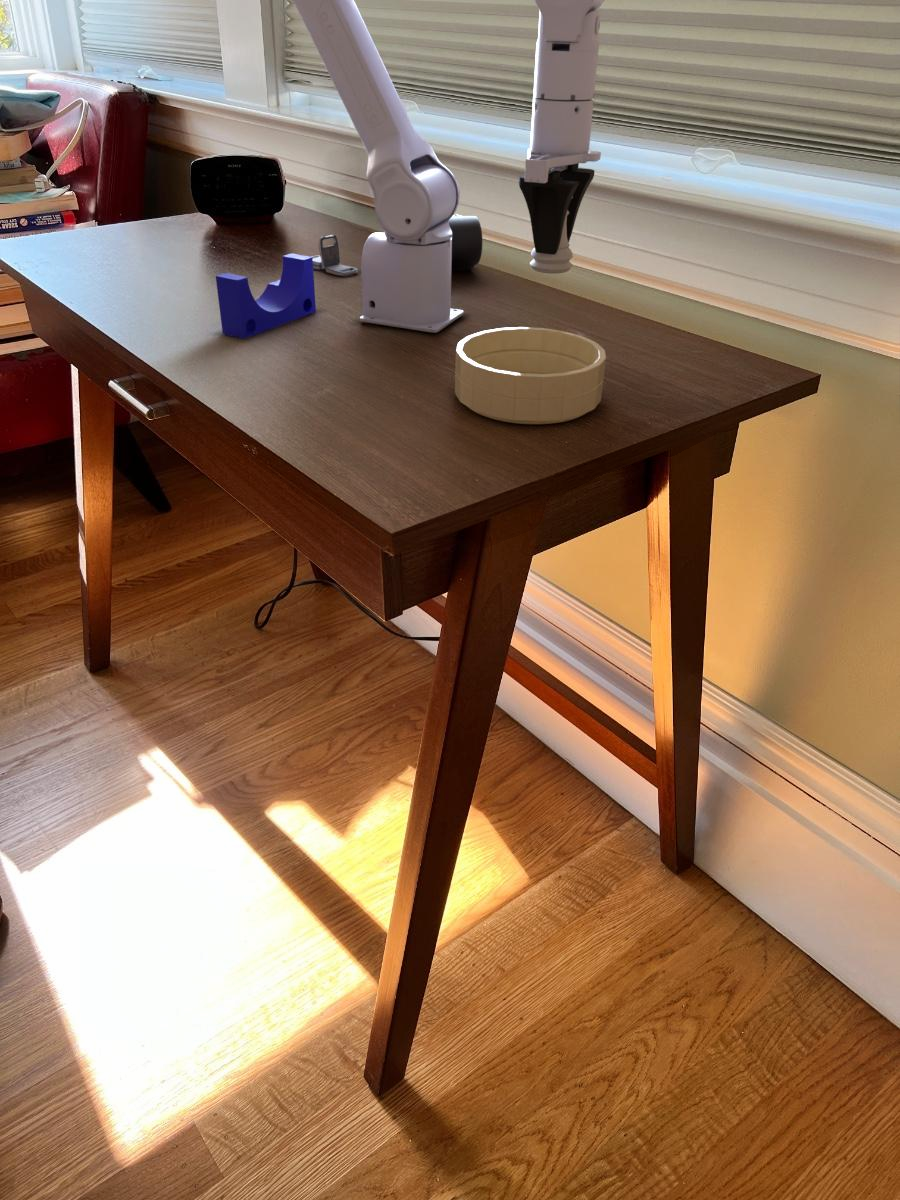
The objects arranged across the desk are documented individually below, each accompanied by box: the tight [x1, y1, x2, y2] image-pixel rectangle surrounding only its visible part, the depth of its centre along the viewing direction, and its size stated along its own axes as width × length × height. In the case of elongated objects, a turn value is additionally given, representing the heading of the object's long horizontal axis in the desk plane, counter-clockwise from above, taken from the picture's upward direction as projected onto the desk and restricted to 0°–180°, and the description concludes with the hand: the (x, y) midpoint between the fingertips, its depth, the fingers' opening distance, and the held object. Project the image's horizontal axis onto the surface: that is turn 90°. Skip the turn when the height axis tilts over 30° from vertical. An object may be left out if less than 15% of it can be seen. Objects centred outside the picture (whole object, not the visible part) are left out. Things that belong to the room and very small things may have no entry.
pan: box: [454, 326, 607, 425], centre depth 82 cm, size 13×13×4 cm
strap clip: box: [311, 234, 359, 276], centre depth 119 cm, size 8×3×4 cm, turn 48°
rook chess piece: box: [529, 196, 574, 275], centre depth 92 cm, size 4×4×8 cm
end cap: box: [449, 213, 484, 272], centre depth 118 cm, size 10×7×7 cm
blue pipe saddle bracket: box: [215, 252, 317, 340], centre depth 99 cm, size 12×4×6 cm, turn 148°
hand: (551, 248), depth 93 cm, fingers closed on rook chess piece, 3 cm apart
